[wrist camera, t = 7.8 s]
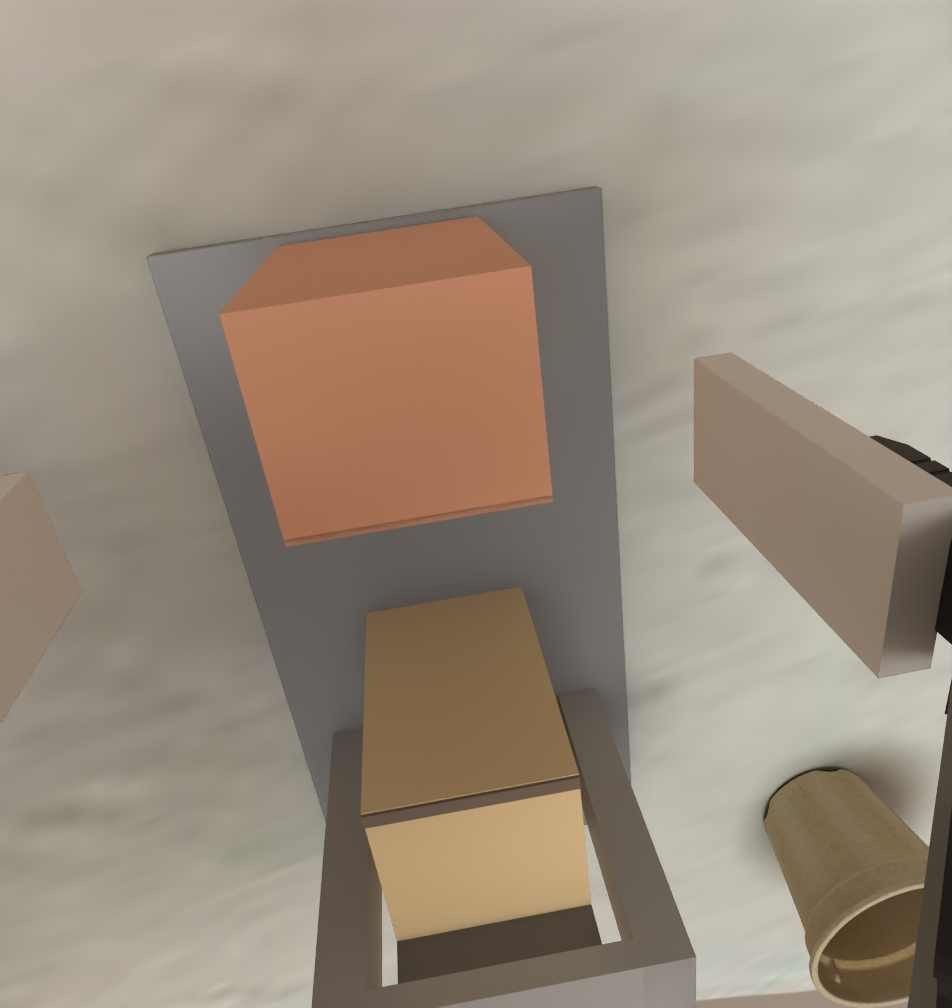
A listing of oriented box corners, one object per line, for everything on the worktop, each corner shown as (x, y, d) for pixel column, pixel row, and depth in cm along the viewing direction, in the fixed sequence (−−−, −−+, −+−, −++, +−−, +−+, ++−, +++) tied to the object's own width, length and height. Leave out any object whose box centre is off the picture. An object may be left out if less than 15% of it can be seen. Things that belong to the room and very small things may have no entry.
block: (316, 410, 29) (285, 546, 19) (276, 246, 26) (219, 314, 17) (497, 380, 29) (553, 501, 20) (477, 215, 26) (531, 266, 17)
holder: (342, 857, 41) (325, 1181, 29) (152, 253, 27) (-53, 370, 14) (628, 804, 42) (735, 1098, 29) (595, 186, 27) (780, 240, 15)
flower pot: (926, 765, 44) (1043, 903, 36) (831, 874, 47) (919, 1020, 39) (796, 726, 41) (892, 865, 33) (706, 844, 44) (774, 994, 37)
